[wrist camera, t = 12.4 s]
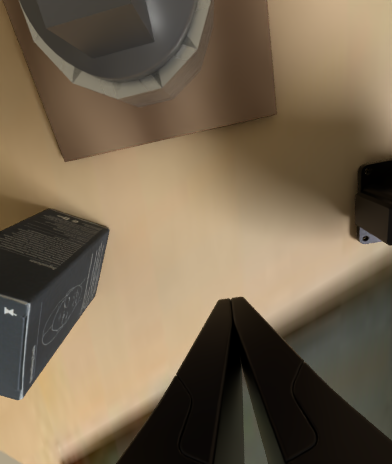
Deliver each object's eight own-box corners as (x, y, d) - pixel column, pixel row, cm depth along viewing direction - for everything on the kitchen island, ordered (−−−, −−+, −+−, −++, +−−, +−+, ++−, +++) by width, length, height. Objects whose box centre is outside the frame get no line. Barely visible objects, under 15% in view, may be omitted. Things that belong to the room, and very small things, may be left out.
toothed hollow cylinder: (193, -103, 14) (186, -208, 9) (222, 87, 17) (226, 71, 13) (40, -50, 15) (-27, -123, 10) (95, 118, 18) (60, 113, 14)
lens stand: (248, -174, 13) (250, -193, 12) (273, 114, 18) (276, 114, 17) (-19, -76, 15) (-31, -87, 14) (70, 160, 20) (64, 161, 19)
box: (48, 206, 21) (-89, 268, 12) (111, 227, 22) (32, 304, 12) (39, 279, 24) (-76, 379, 14) (96, 297, 25) (21, 405, 15)
